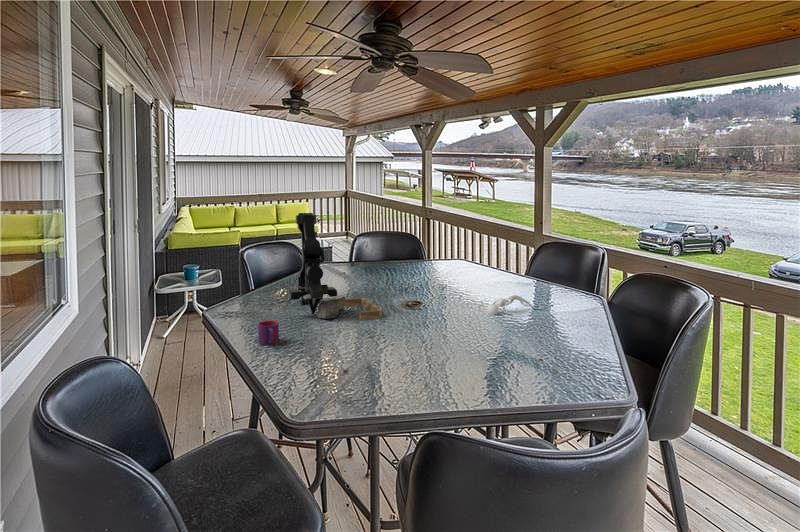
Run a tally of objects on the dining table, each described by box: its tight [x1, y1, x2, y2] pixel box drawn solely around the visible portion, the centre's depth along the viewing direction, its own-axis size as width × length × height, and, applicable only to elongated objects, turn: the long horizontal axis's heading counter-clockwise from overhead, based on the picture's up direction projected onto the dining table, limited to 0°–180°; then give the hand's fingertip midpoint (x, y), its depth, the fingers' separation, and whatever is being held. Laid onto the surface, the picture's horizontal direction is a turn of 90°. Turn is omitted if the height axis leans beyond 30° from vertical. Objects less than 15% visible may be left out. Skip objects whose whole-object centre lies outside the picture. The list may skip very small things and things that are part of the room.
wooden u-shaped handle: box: [344, 297, 383, 321], centre depth 215 cm, size 23×10×3 cm, turn 24°
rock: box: [315, 296, 346, 320], centre depth 208 cm, size 17×7×10 cm
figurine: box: [486, 294, 542, 315], centre depth 219 cm, size 9×10×25 cm
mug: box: [257, 320, 280, 346], centre depth 173 cm, size 7×10×7 cm
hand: (313, 314), depth 207 cm, fingers closed
